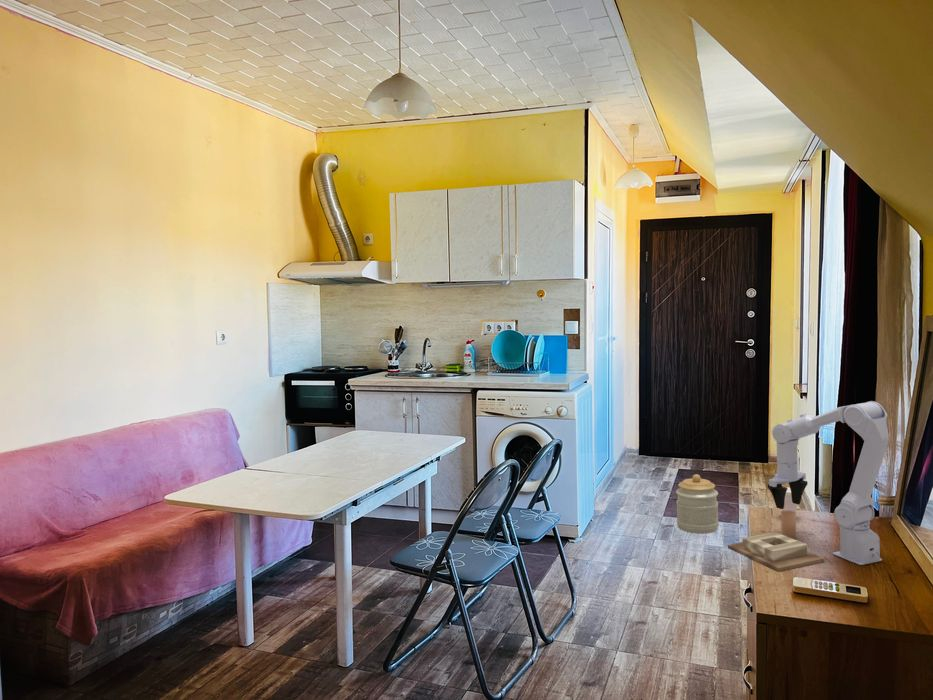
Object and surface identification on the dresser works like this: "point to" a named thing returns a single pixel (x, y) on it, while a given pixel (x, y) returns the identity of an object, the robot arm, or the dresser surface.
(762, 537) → the socket
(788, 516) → the peg
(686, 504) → the jar
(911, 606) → the dresser surface
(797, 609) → the dresser surface
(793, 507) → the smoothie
